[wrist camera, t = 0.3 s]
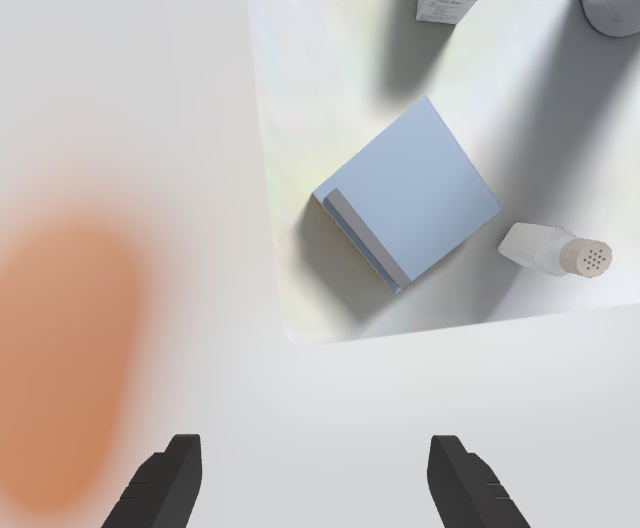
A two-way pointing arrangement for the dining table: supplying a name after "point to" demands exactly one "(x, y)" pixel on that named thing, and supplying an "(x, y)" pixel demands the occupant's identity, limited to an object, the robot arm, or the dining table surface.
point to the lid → (408, 196)
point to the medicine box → (443, 10)
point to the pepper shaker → (555, 250)
